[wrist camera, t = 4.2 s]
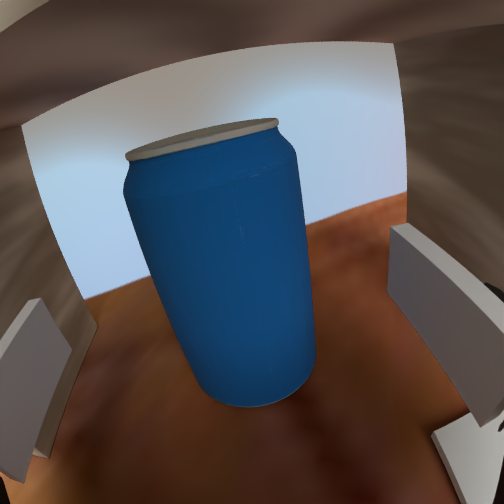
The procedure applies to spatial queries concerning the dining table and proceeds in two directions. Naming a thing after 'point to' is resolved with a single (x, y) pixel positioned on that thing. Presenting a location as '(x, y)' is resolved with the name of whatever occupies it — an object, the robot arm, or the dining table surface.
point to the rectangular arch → (240, 37)
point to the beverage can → (229, 255)
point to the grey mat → (472, 457)
